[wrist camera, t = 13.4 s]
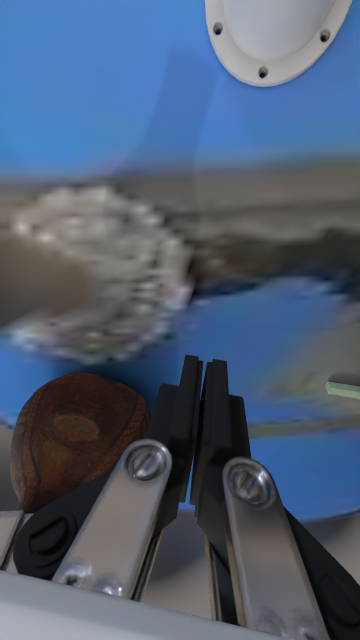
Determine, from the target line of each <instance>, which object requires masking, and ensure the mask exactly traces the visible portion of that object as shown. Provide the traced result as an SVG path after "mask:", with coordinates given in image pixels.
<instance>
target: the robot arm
mask: <svg viewBox="0 0 360 640" xmlns="http://www.w3.org/2000/svg"><path fill="white" fill-rule="evenodd" d="M352 1H353V0H205V10H206V21H207V27H208V33H209V37H210V40H211V43H212V46H213V49H214V51H215V53H216V55H217V57H218V59H219V60H220V62H221V64H222V65H223V66H224V67H225V68H226V70H227V71H228V72H229V73H230V74H231V75H233V76H234V77H235V78H237V79H238V80H239V81H241V82H244V83H246V84H249V85H251V86H258V87H270V86H277V85H280V84H283V83H286V82H289V81H290V80H292V79H294V78H296V77H297V76H299V75H301V74H302V73H303V72H305V71H306V70H307V69H308V68H310V67H311V66H312V65H313V64H314V63H315V62H316V61H317V60H318V59H319V58H320V56H321V55H322V54H323V53H324V52H325V51H326V49H327V48H328V47H329V45H330V44H331V42H332V41H333V40H334V38H335V36H336V34H337V33H338V31H339V29H340V28H341V26H342V24H343V22H344V20H345V18H346V16H347V13H348V11H349V8H350V6H351V4H352ZM217 31H219V32H220V33H221V34H220V35H216V32H217ZM320 38H324V42H322V41H321V39H320ZM261 73H263V74H264V75H265V77H264V78H260V74H261ZM198 358H199V357H198V356H192V355H185V360H184V365H183V370H182V374H181V379H180V384H179V386H175V385H169V384H163V383H162V384H161V386H160V389H159V393H158V396H157V399H156V402H155V405H154V409H153V412H152V415H151V418H150V422H149V425H148V428H147V431H146V434H145V438H144V439H141V440H138V441H135V442H133V443H132V444H131V445H129V446H128V447H127V448H126V449H125V451H124V452H123V454H122V455H121V457H120V459H119V461H118V463H117V464H116V466H115V467H114V468H113V469H111V470H109V471H107V472H105V473H104V474H102V475H100V476H98V477H96V478H95V479H93V480H91V481H89V482H88V483H86V484H84V485H82V486H80V487H79V488H77V489H75V490H73V491H71V492H70V493H68V494H66V495H64V496H63V497H61V498H59V499H57V500H55V501H54V502H52V503H50V504H48V505H47V506H45V507H43V508H41V509H40V510H39V511H37V512H36V513H33V514H24V511H23V510H19V511H3V512H0V640H360V586H359V585H358V584H357V582H356V581H355V580H354V578H353V577H352V576H351V575H350V574H349V573H348V572H347V571H346V570H345V569H344V568H343V567H342V566H341V565H340V564H339V563H338V561H336V559H335V558H334V557H333V556H331V554H330V553H329V552H328V551H327V550H326V549H325V548H324V547H323V546H322V545H321V544H320V543H319V542H318V541H317V540H316V539H315V538H314V537H313V536H312V535H311V534H310V533H309V532H308V531H307V530H306V529H305V528H304V527H303V526H302V525H301V524H300V523H299V522H298V520H297V519H296V518H295V517H294V516H293V515H292V514H291V513H290V512H289V511H288V510H287V509H286V508H285V507H284V506H283V504H282V501H281V498H280V496H279V493H278V490H277V487H276V484H275V482H274V480H273V478H272V476H271V474H270V473H269V471H268V470H267V469H266V468H265V467H264V466H263V465H262V464H260V463H259V462H258V461H255V460H253V459H251V452H250V445H249V437H248V430H247V422H246V415H245V407H244V401H243V398H242V397H239V396H233V395H229V391H228V375H227V361H222V360H216V359H213V361H212V362H207V366H206V372H205V377H204V383H203V388H202V394H201V399H200V393H201V382H202V371H203V361H200V360H198ZM193 455H194V460H193ZM192 461H193V471H192V482H191V492H190V504H193V505H196V506H195V517H197V524H198V525H199V527H200V528H201V529H202V531H203V532H204V534H205V547H206V558H207V570H208V581H209V593H210V605H211V617H212V620H211V619H207V618H202V617H198V616H195V615H190V614H186V613H182V612H178V611H174V610H169V609H165V608H161V607H157V606H153V605H149V604H144V603H141V602H142V599H143V596H144V592H145V589H146V586H147V582H148V579H149V576H150V572H151V569H152V566H153V562H154V559H155V556H156V552H157V549H158V546H159V542H160V539H161V536H162V532H163V528H165V527H166V526H167V525H168V524H170V523H171V522H172V521H173V520H174V519H176V516H177V510H178V504H179V502H183V503H185V498H186V492H187V487H188V482H189V476H190V471H191V466H192Z"/></svg>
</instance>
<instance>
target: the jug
mask: <svg viewBox="0 0 360 640" xmlns="http://www.w3.org/2000/svg"><path fill="white" fill-rule="evenodd" d="M151 415H152V414H151V412H150V409H149V407H148V405H147V403H146V402H145V400H144V399H143V397H142V396H141V395H140V394H139V393H137V392H136V391H135V390H133V389H132V388H130V387H128V386H126V385H124V384H122V383H119V382H117V381H114V380H111V379H108V378H105V377H103V376H100V375H96V374H92V373H87V372H76V373H71V374H68V375H65V376H62V377H60V378H57V379H54V380H52V381H50V382H48V383H46V384H45V385H43V386H42V387H40V388H39V389H38V390H37V391H36V392H35V393H34V394H33V395H32V396H31V397H30V399H29V400H28V401H27V402H26V404H25V405H24V406H23V408H22V410H21V412H20V414H19V416H18V419H17V422H16V425H15V429H14V433H13V438H12V443H11V451H10V471H11V479H12V483H13V487H14V490H15V492H16V495H17V496H18V499H19V501H20V504H19V507H18V509H17V511H19V510H23V511H24V514H33V513H36V512H37V511H39V510H40V509H41V508H43V507H45V506H47V505H48V504H50V503H52V502H54V501H55V500H57V499H59V498H61V497H63V496H64V495H66V494H68V493H70V492H71V491H73V490H75V489H77V488H79V487H80V486H82V485H84V484H86V483H88V482H89V481H91V480H93V479H95V478H96V477H98V476H100V475H102V474H104V473H105V472H107V471H109V470H111V469H113V468H114V467H115V466H116V464H117V463H118V461H119V459H120V457H121V455H122V454H123V452H124V451H125V449H126V448H127V447H128V446H129V445H131V444H132V443H133V442H135V441H138V440H141V439H144V438H145V434H146V431H147V428H148V425H149V422H150V418H151Z"/></svg>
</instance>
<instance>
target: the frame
mask: <svg viewBox="0 0 360 640" xmlns="http://www.w3.org/2000/svg"><path fill="white" fill-rule="evenodd" d="M325 389H326V390H327V392H328V394H333V395H339V396H345V397H351V398H357V399H360V387H359V386H353V385H347V384H341V383H335V382H329V381H327V383H326V386H325Z"/></svg>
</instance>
